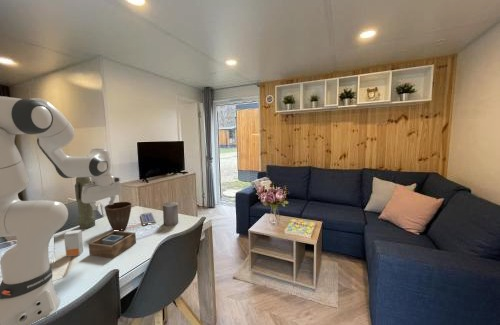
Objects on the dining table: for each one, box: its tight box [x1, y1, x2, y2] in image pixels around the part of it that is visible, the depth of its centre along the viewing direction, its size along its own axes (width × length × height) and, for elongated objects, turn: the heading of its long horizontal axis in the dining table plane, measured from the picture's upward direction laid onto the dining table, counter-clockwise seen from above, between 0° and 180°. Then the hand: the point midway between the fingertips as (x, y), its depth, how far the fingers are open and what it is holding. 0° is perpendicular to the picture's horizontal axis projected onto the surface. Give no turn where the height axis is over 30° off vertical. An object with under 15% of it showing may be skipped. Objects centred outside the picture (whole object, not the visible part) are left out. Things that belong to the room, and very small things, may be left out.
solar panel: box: [140, 212, 157, 225], centre depth 159 cm, size 8×23×2 cm, turn 31°
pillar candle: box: [162, 201, 179, 227], centre depth 151 cm, size 10×10×15 cm
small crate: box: [102, 235, 124, 246], centre depth 117 cm, size 6×8×5 cm
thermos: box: [74, 177, 96, 230], centre depth 145 cm, size 9×12×35 cm
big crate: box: [88, 230, 137, 259], centre depth 117 cm, size 16×14×6 cm
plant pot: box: [103, 201, 132, 231], centre depth 142 cm, size 15×15×16 cm
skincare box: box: [63, 229, 84, 257], centre depth 112 cm, size 6×4×12 cm
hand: (103, 207), depth 113 cm, fingers open, 8 cm apart
